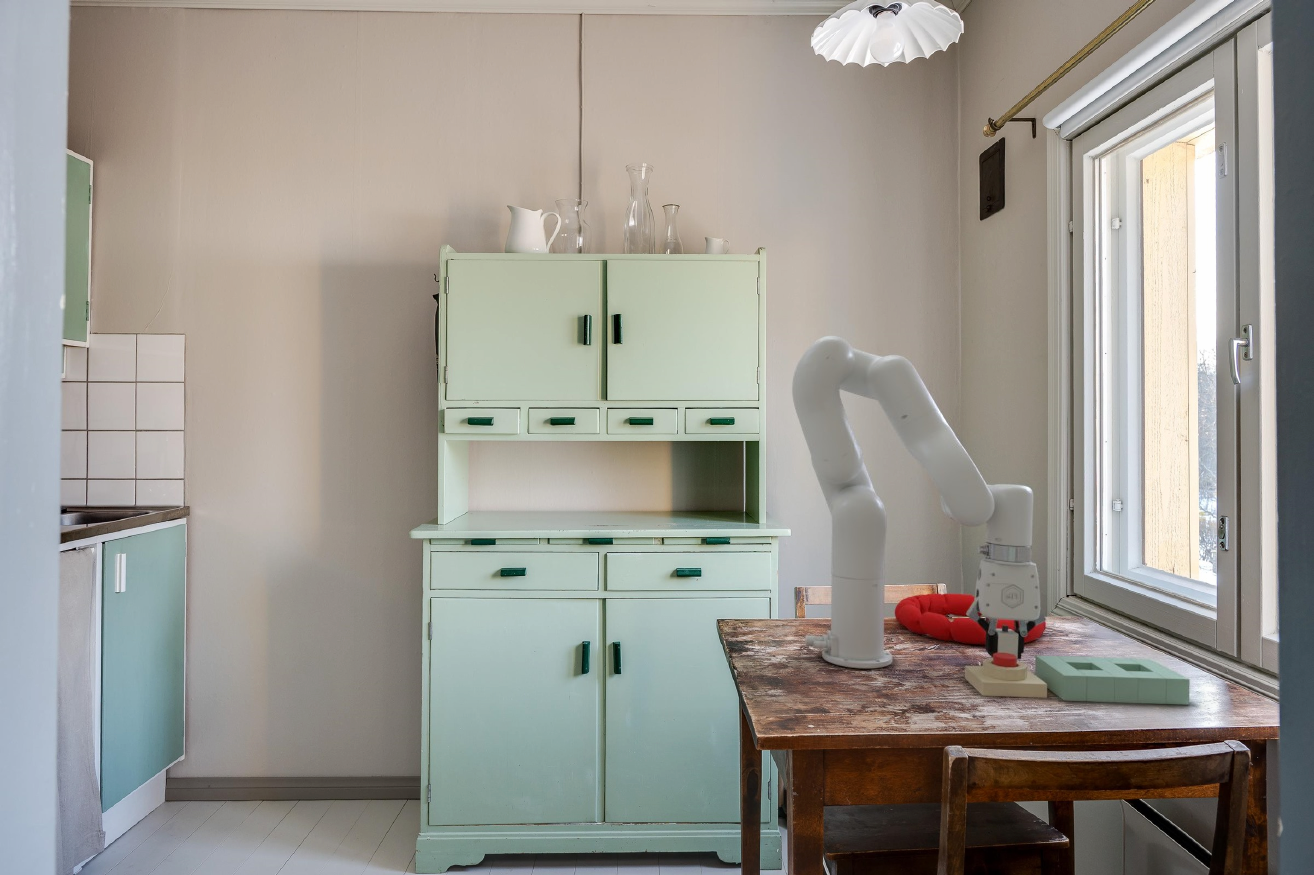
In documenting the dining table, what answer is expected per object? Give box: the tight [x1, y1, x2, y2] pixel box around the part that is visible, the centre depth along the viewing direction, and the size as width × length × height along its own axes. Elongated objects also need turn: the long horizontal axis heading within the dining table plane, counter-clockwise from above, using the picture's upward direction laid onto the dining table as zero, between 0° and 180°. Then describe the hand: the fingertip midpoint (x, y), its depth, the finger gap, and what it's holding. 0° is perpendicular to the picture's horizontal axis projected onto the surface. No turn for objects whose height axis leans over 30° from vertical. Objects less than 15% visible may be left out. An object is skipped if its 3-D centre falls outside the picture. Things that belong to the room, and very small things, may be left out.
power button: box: [993, 653, 1018, 667], centre depth 130 cm, size 4×4×2 cm
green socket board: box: [1034, 655, 1191, 706], centre depth 129 cm, size 19×11×4 cm, turn 86°
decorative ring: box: [894, 593, 1047, 646], centre depth 170 cm, size 7×30×30 cm
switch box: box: [964, 657, 1048, 699], centre depth 130 cm, size 10×9×4 cm
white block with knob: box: [990, 625, 1018, 658], centre depth 141 cm, size 3×3×7 cm
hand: (1004, 655), depth 141 cm, fingers closed on white block with knob, 3 cm apart
